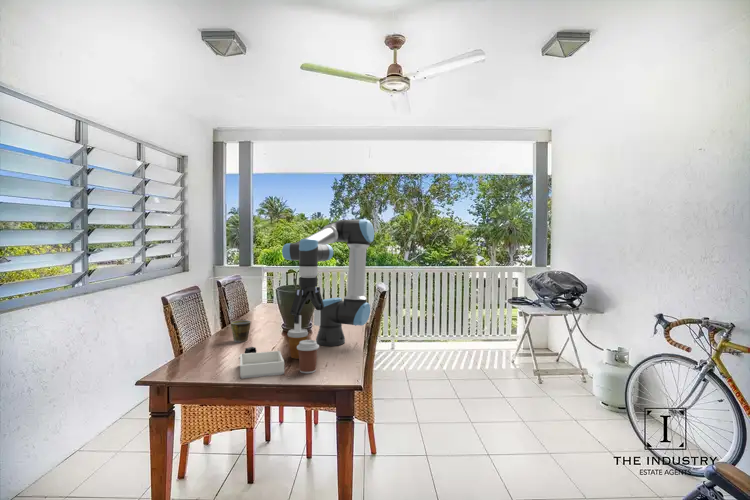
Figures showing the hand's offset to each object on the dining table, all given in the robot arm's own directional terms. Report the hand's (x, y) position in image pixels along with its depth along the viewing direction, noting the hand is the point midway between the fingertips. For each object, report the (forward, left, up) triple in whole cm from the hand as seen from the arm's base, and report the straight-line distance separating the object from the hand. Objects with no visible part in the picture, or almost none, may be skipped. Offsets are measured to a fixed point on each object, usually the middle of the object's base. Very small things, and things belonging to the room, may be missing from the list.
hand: (307, 328), depth 164 cm
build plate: (+21, -28, -18) cm, 40 cm away
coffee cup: (0, 0, -18) cm, 18 cm away
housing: (+18, -7, -18) cm, 26 cm away
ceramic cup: (+26, -57, -18) cm, 65 cm away
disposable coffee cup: (+1, -21, -18) cm, 28 cm away
